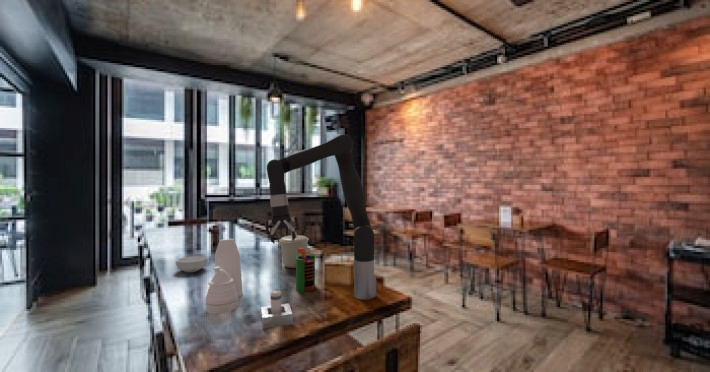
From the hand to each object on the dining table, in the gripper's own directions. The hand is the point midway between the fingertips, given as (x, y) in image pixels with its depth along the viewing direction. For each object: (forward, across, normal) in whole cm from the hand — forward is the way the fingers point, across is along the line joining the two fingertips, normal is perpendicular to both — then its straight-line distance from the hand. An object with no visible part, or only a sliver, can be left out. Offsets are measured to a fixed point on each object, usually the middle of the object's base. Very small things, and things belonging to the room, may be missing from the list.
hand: (283, 241), depth 152 cm
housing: (+28, -8, -15) cm, 33 cm away
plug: (+28, -8, -15) cm, 33 cm away
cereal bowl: (+18, -46, +74) cm, 89 cm away
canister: (+24, +12, +61) cm, 67 cm away
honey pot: (+25, -28, +6) cm, 38 cm away
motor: (+27, +10, +17) cm, 34 cm away
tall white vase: (+24, -26, +24) cm, 43 cm away
